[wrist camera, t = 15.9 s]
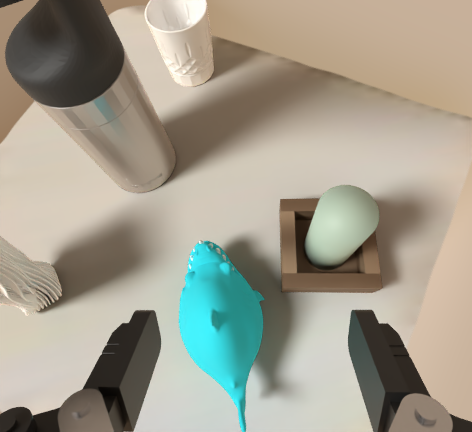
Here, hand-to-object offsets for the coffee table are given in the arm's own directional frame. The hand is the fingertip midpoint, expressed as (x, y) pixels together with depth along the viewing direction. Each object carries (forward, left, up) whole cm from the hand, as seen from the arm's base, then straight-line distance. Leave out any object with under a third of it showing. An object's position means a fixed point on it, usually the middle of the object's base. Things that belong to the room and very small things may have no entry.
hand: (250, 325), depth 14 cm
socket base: (-6, +11, -24) cm, 27 cm away
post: (-5, +11, -24) cm, 27 cm away
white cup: (-39, +7, -24) cm, 46 cm away
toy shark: (-2, -3, -24) cm, 25 cm away
